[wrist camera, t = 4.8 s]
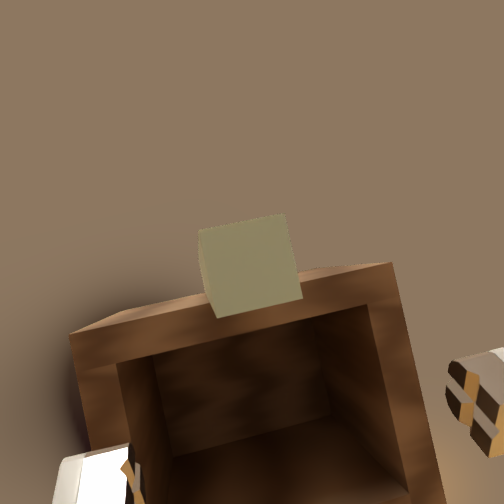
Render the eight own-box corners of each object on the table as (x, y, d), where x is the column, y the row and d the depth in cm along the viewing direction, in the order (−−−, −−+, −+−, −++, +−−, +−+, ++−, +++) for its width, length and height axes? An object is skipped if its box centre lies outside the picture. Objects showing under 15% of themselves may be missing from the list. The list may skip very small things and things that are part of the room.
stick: (217, 318, 14) (198, 230, 14) (205, 293, 37) (198, 259, 37) (302, 298, 15) (284, 213, 15) (239, 285, 38) (232, 252, 38)
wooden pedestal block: (171, 849, 22) (68, 334, 22) (183, 606, 37) (122, 310, 38) (496, 722, 24) (391, 261, 25) (377, 545, 40) (316, 268, 41)
